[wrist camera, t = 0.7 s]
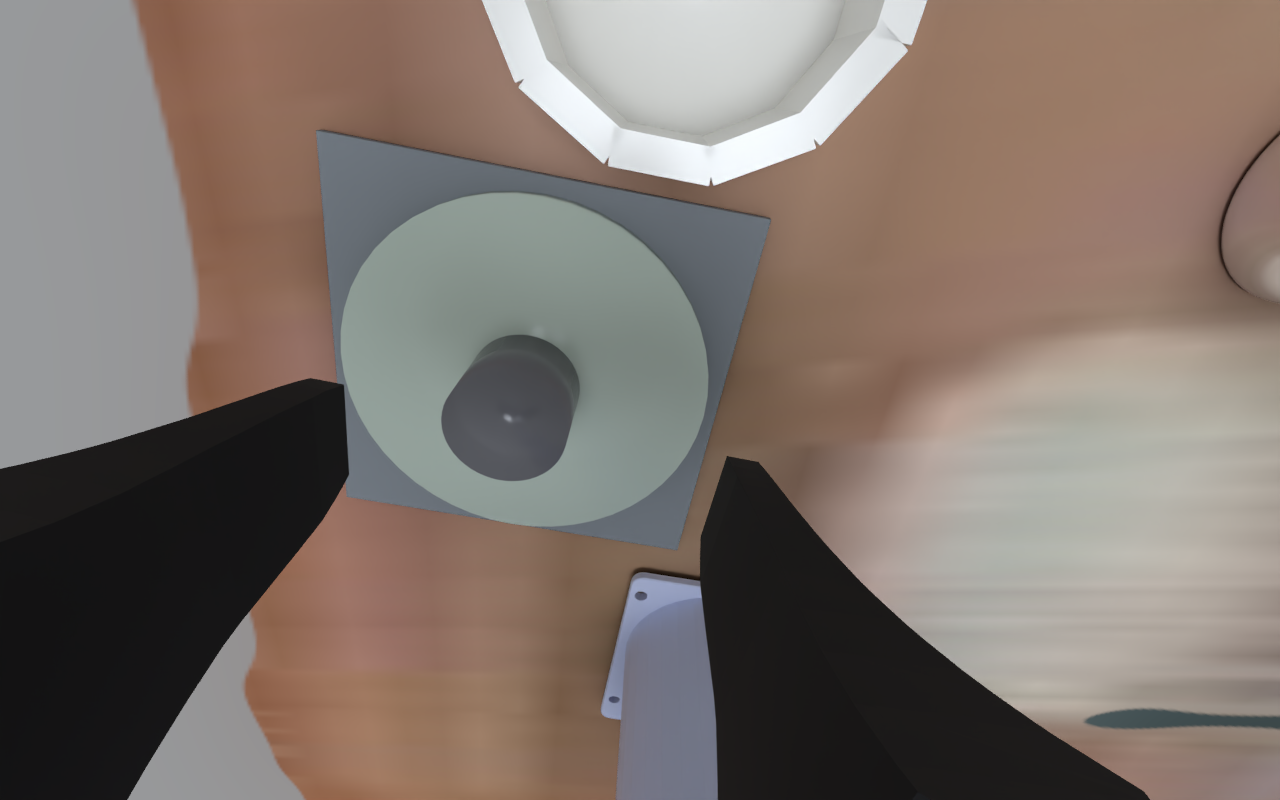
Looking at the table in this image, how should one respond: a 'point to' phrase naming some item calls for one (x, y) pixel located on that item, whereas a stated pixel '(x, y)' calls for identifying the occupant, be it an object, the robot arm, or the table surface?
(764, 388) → the table surface
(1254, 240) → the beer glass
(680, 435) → the lid
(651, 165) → the bowl
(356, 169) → the mat
